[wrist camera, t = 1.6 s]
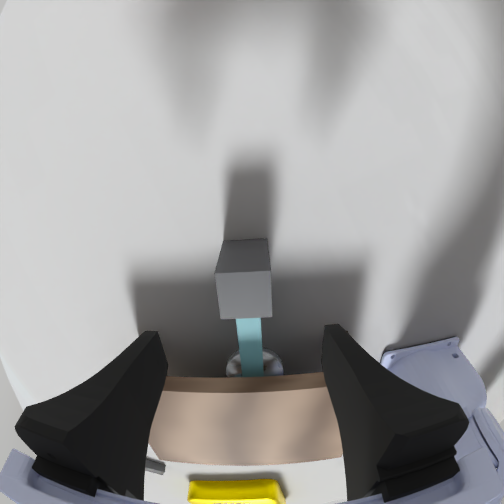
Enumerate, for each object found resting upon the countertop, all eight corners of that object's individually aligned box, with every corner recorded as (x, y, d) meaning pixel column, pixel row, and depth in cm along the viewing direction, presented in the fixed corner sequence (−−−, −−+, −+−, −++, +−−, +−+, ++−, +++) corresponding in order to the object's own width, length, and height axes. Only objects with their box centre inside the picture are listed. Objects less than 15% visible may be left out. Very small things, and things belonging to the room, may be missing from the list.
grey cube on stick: (309, 236, 20) (326, 267, 15) (302, 393, 26) (308, 433, 22) (181, 243, 20) (161, 275, 16) (212, 396, 26) (206, 436, 22)
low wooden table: (347, 330, 23) (367, 380, 18) (331, 413, 28) (341, 457, 22) (138, 337, 24) (115, 385, 18) (170, 417, 28) (159, 459, 23)
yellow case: (276, 475, 35) (277, 500, 31) (286, 499, 41) (287, 519, 36) (186, 477, 36) (182, 500, 32) (212, 502, 42) (211, 521, 37)
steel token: (282, 343, 24) (283, 352, 23) (282, 381, 26) (283, 390, 25) (223, 345, 24) (222, 354, 23) (229, 383, 26) (229, 392, 25)
